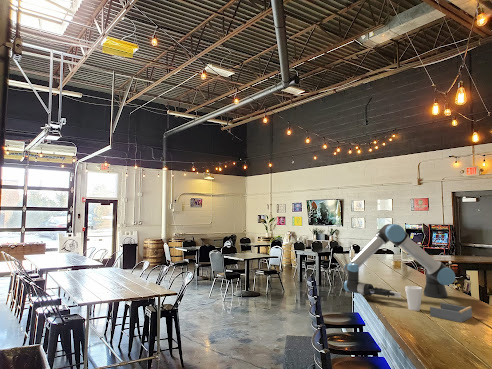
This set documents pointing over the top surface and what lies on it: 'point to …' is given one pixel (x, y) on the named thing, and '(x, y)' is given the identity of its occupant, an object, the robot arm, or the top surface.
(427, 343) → the top surface
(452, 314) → the box
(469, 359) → the top surface
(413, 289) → the foam cup
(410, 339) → the top surface
